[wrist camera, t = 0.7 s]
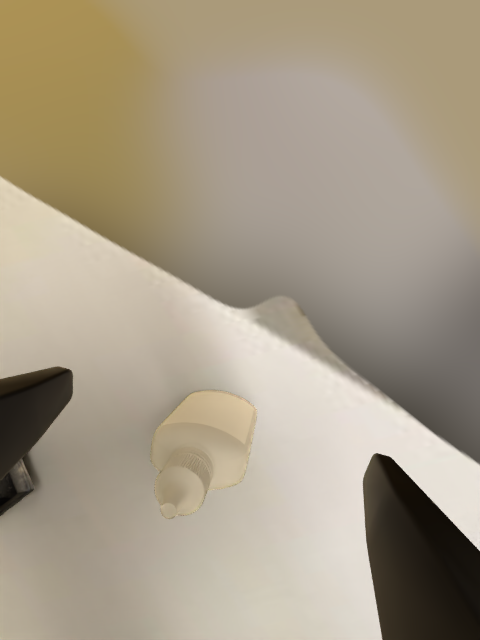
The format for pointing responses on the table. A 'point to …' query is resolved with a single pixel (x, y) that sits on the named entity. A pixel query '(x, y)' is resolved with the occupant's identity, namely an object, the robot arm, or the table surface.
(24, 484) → the dark grey hollow box
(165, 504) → the eye dropper bottle
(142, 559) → the table surface
